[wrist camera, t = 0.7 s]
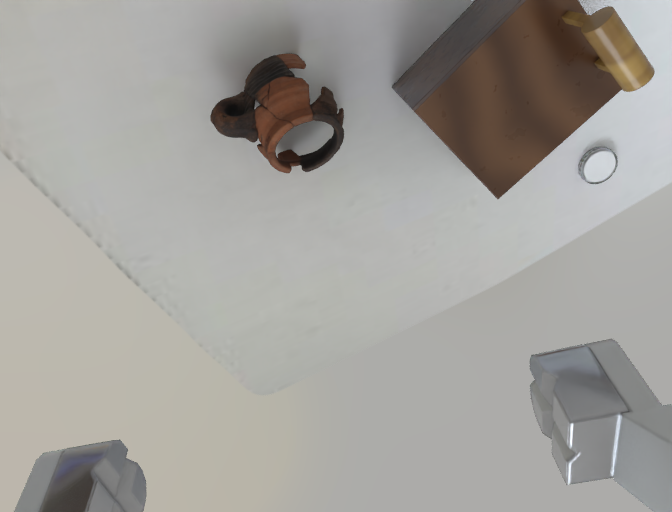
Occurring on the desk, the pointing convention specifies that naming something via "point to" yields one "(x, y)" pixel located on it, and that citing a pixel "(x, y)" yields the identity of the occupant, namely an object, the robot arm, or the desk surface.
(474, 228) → the desk surface
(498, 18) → the box
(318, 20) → the desk surface
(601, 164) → the white flat disc
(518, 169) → the chest lid
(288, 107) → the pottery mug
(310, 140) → the desk surface
